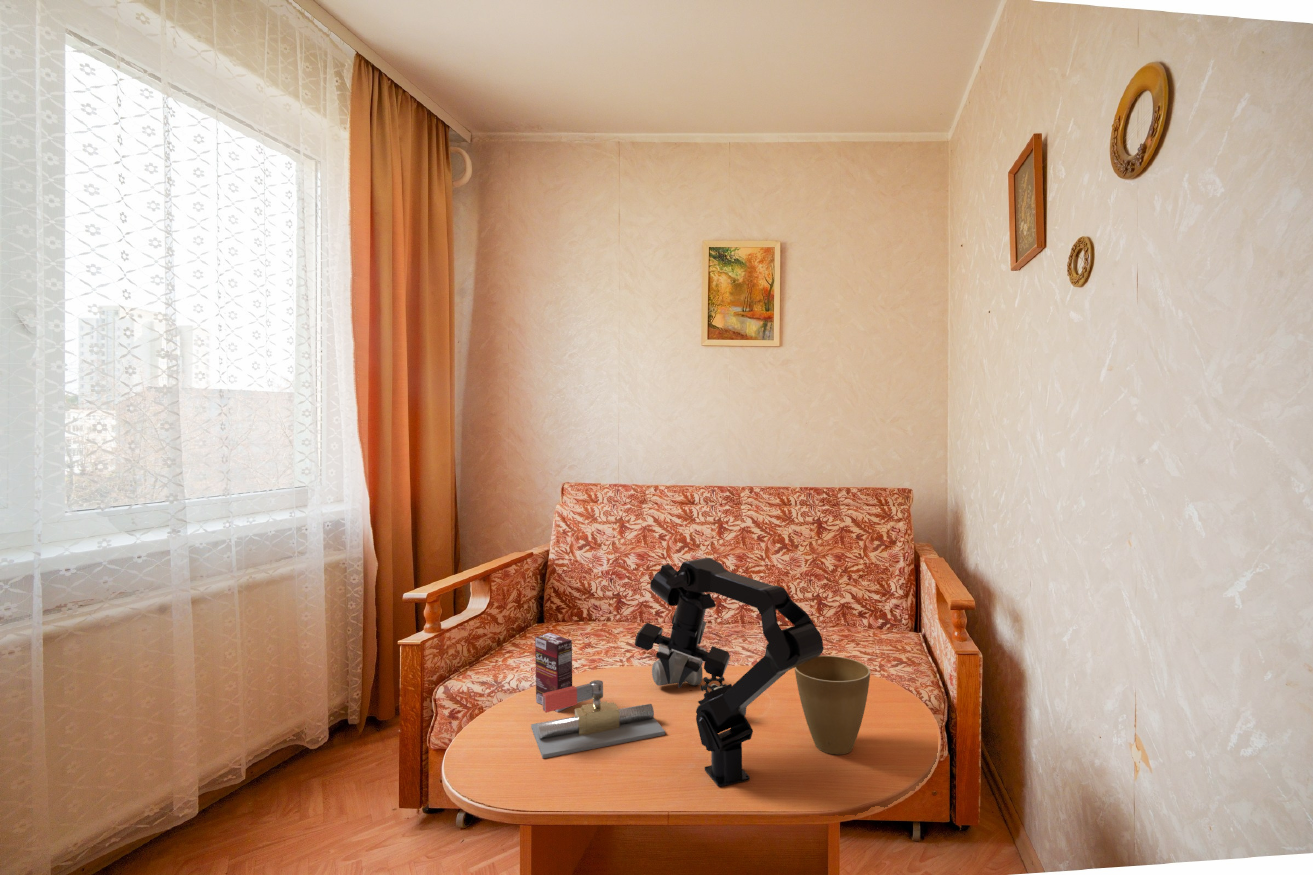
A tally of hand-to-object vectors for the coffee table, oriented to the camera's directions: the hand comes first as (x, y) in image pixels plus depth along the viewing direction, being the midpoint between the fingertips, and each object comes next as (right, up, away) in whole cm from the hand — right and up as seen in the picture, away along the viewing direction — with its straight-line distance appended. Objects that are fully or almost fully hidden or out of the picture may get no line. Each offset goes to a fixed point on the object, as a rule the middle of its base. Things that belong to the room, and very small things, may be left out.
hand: (674, 684), depth 128 cm
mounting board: (-16, -13, +7) cm, 22 cm away
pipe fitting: (+1, -13, +30) cm, 33 cm away
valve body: (-16, -13, +7) cm, 22 cm away
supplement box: (-28, -13, +20) cm, 37 cm away
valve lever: (-21, -5, +4) cm, 22 cm away
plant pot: (+32, -12, -1) cm, 34 cm away
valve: (+11, -12, +16) cm, 23 cm away
